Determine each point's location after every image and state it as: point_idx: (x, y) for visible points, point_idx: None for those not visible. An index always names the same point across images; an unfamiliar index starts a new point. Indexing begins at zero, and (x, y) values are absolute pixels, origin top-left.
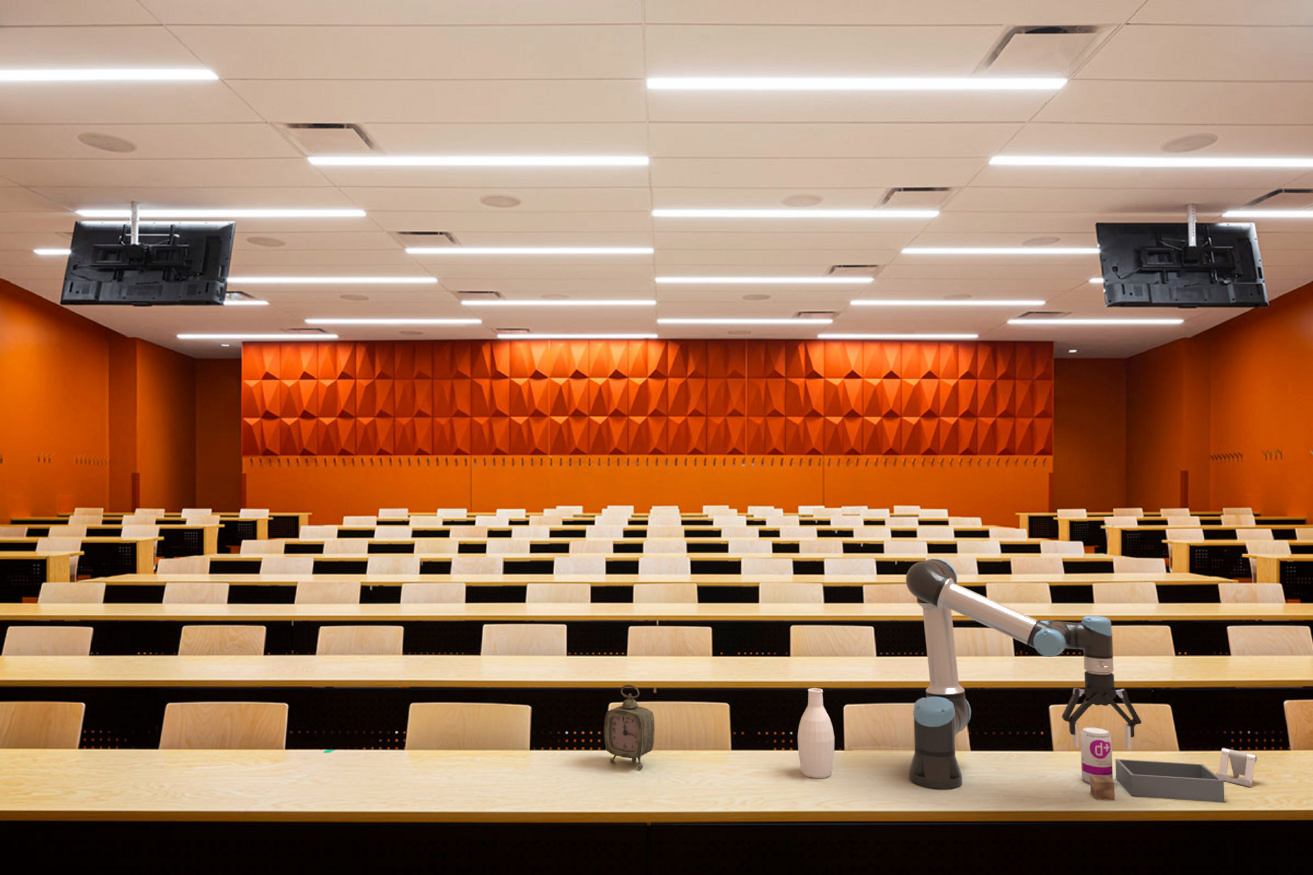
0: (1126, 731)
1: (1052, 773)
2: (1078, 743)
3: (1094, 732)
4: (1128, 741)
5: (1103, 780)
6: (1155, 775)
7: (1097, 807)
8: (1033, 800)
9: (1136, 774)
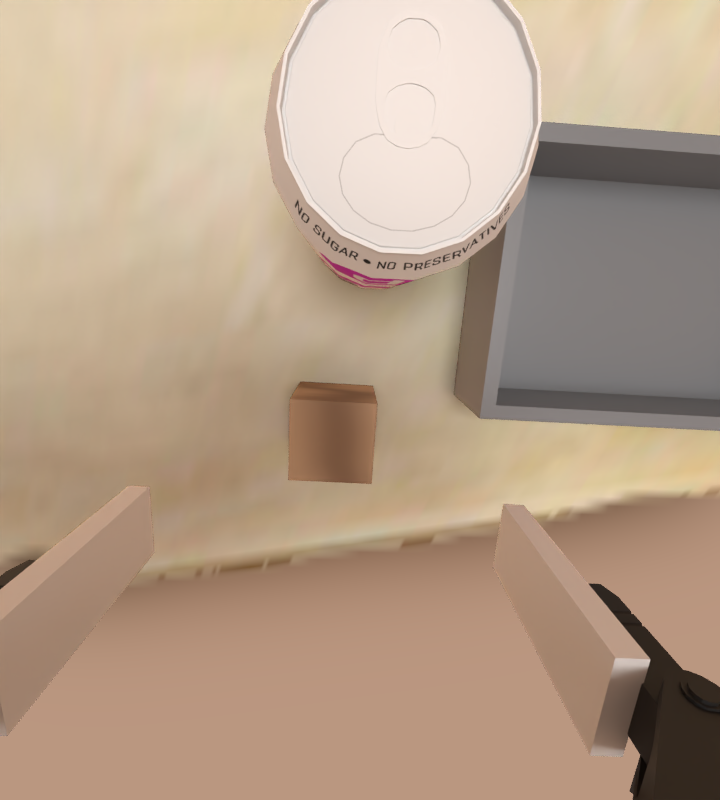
0: (560, 652)
1: (189, 120)
2: (135, 572)
3: (375, 187)
4: (519, 614)
5: (331, 462)
6: (670, 179)
7: (279, 532)
8: (60, 499)
9: (583, 173)
